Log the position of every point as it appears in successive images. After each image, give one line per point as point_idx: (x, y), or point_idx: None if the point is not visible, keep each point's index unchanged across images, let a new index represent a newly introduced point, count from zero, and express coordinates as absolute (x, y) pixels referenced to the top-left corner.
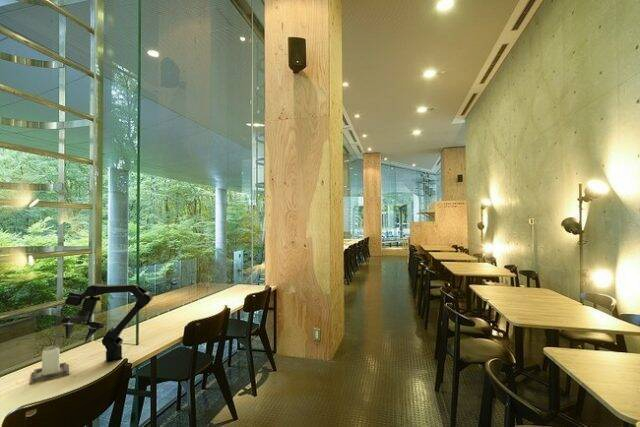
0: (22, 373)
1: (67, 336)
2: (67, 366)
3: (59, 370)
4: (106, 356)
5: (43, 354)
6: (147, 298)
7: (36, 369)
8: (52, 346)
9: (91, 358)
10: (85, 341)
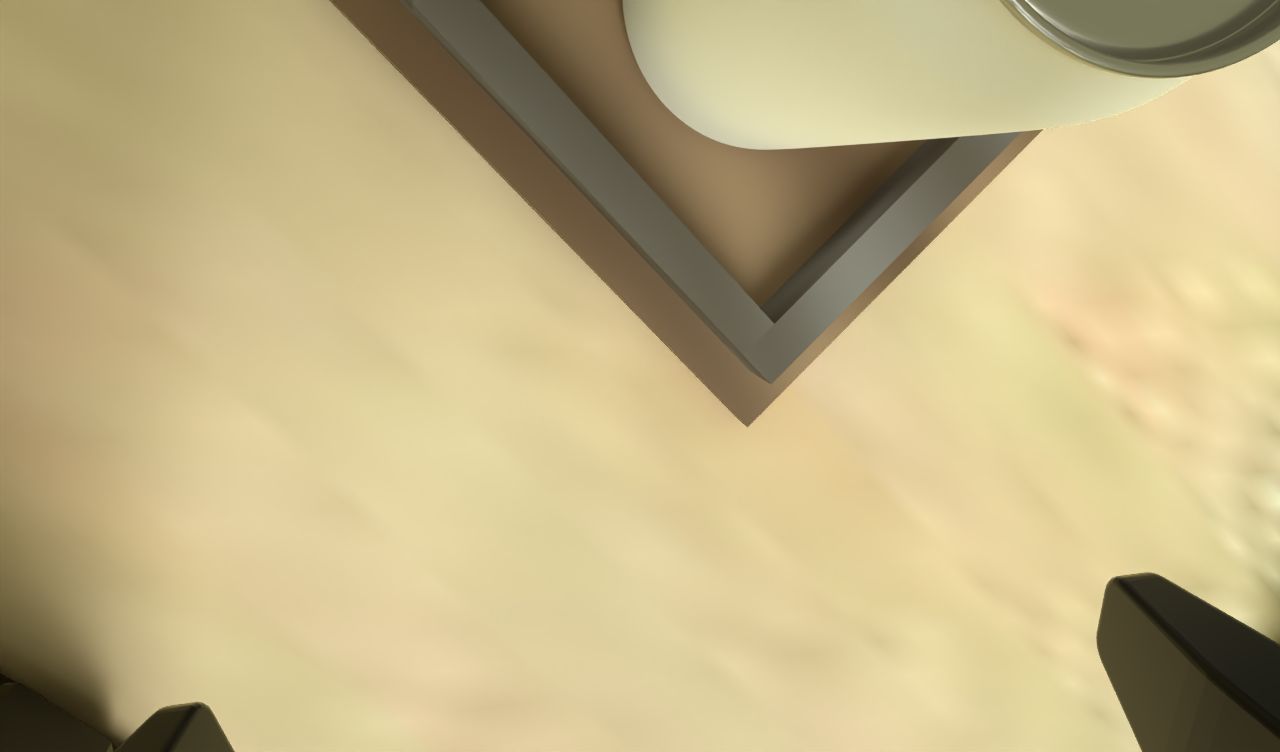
0: None
1: (1187, 661)
2: (667, 314)
3: (676, 125)
4: None
5: None
6: None
7: None
8: (1253, 31)
9: (527, 729)
10: (158, 718)
